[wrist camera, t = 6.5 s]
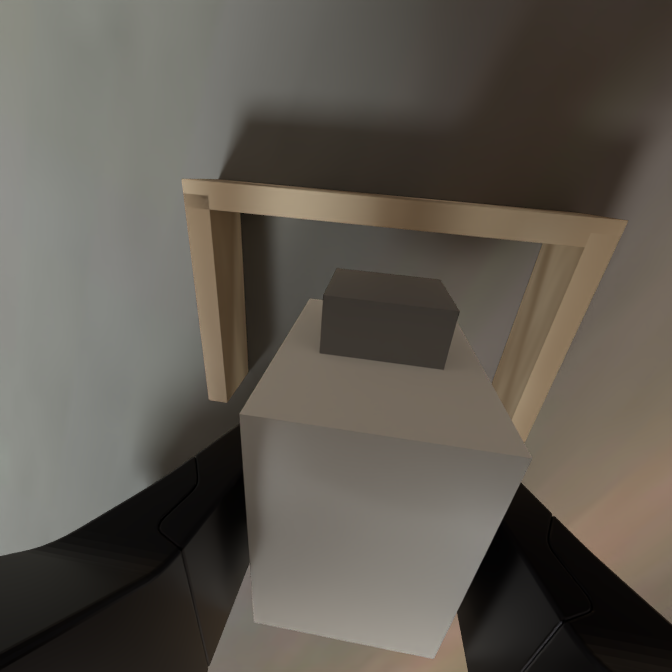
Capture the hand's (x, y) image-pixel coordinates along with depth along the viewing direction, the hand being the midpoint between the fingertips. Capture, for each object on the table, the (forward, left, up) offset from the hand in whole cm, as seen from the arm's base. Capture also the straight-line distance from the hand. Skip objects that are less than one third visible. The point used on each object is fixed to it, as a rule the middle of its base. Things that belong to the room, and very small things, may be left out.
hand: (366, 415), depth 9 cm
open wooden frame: (0, 0, -8) cm, 8 cm away
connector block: (0, 0, -1) cm, 1 cm away
